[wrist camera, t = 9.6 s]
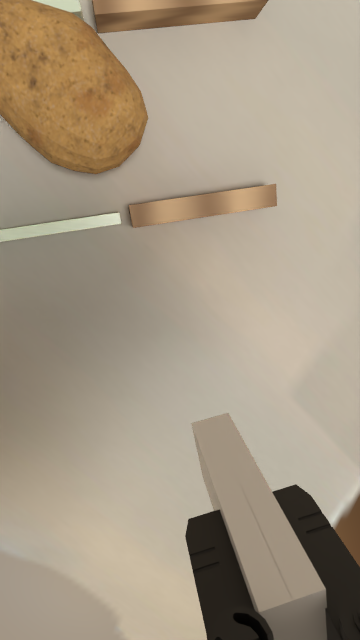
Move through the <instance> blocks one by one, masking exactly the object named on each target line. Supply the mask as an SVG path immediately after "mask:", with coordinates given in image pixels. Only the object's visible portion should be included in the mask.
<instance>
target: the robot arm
mask: <svg viewBox="0 0 360 640" xmlns="http://www.w3.org/2000/svg"><path fill="white" fill-rule="evenodd" d="M191 424H192V428H193V433H194V438H195V442H196V447H197V452H198V456H199V461H200V465H201V470H202V475H203V478H204V482H205V485H206V488H207V491H208V494H209V497H210V500H211V503H212V506H213V509H214V511H213V512H210V513H207V514H203V515H200V516H197V517H194V518H191V519H189V520H188V525H187V531H186V536H185V537H186V542H187V546H188V551H189V555H190V560H191V565H192V569H193V574H194V578H195V583H196V588H197V592H198V597H199V601H200V606H201V610H202V615H203V620H204V624H205V629H206V633H207V640H360V567H359V566H358V564H357V563H356V561H355V560H354V558H353V557H352V556H351V554H350V552H349V551H348V549H347V548H346V546H345V545H344V544H343V542H342V541H341V539H340V538H339V536H338V535H337V533H336V532H335V530H334V529H333V527H331V525H330V523H329V522H328V520H327V519H326V517H325V516H324V514H322V512H321V510H320V508H319V507H318V505H317V504H316V502H315V501H314V499H313V498H312V497H311V495H309V494H308V493H307V492H305V491H304V490H303V489H301V488H300V487H299V486H297V485H293V486H289V487H286V488H283V489H280V490H277V491H273V492H272V491H271V489H270V487H269V486H268V484H267V482H266V480H265V478H264V477H263V475H262V473H261V471H260V469H259V467H258V466H257V464H256V462H255V460H254V458H253V457H252V455H251V453H250V451H249V449H248V448H247V446H246V444H245V442H244V440H243V439H242V437H241V435H240V433H239V431H238V430H237V428H236V426H235V424H234V422H233V421H232V419H231V417H230V415H229V413H226V414H223V415H219V416H215V417H212V418H208V419H205V420H201V421H198V422H194V423H191Z"/></svg>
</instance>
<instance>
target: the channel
mask: <svg viewBox="0 0 360 640" xmlns="http://www.w3.org/2000/svg"><path fill="white" fill-rule="evenodd" d="M267 1H268V0H92V3H93V8H94V14H95V20H96V25H97V31H98V33H105V32H115V31H126V30H137V29H148V28H159V27H170V26H180V25H191V24H202V23H213V22H224V21H235V20H246V19H255V18H256V17H257V16H258V14H259V13H260V11H261V10H262V8H263V7H264V6H265V4H266V3H267ZM273 206H277V197H276V184H272V185H265V186H258V187H251V188H244V189H237V190H230V191H223V192H216V193H210V194H203V195H196V196H189V197H182V198H175V199H168V200H161V201H155V202H148V203H141V204H134V205H129V211H130V216H131V222H132V227H133V228H136V227H142V226H149V225H155V224H162V223H168V222H175V221H181V220H188V219H194V218H201V217H208V216H214V215H221V214H227V213H234V212H240V211H247V210H253V209H260V208H266V207H273Z"/></svg>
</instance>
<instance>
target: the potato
mask: <svg viewBox="0 0 360 640" xmlns="http://www.w3.org/2000/svg"><path fill="white" fill-rule="evenodd" d="M0 114H1V115H2V117H3V118H4V119H5V120H6V121H7V122H8V123H9V124H10V125H11V126H12V127H13V129H14V130H15V131H16V132H17V133H18V134H19V135H20V136H21V137H23V138H24V139H25V140H26V141H27V142H28V143H29V144H30V145H31V146H32V147H33V148H35V149H36V150H37V151H38V152H39V153H41V154H42V155H43V156H44V157H45V158H47V159H48V160H49V161H50V162H51V163H54V164H57V165H60V166H63V167H65V168H68V169H71V170H74V171H81V172H87V173H94V174H98V173H101V172H104V171H107V170H110V169H113V168H116V167H119V166H120V165H121V164H122V163H123V162H124V161H125V160H126V159H127V158H128V157H129V156H130V155H131V154H132V153H133V152H134V151H135V150H136V149H137V148H138V146H139V145H140V142H141V139H142V136H143V132H144V129H145V126H146V123H147V120H148V115H147V112H146V108H145V105H144V101H143V97H142V94H141V91H140V90H139V88H138V87H137V85H136V83H135V82H134V80H133V79H132V77H131V76H130V74H129V73H128V71H127V70H126V69H125V67H124V66H123V65H122V64H121V63H120V61H119V60H118V59H117V58H116V57H115V56H114V54H113V53H112V52H111V51H110V50H109V48H108V47H107V46H106V45H105V43H104V42H103V41H102V39H101V38H100V37H99V36H98V34H97V33H96V32H95V30H94V29H93V28H92V27H91V26H89V25H88V24H87V23H85V22H84V21H83V20H81V19H80V18H79V17H77V16H76V15H75V14H73V13H71V12H68V11H65V10H62V9H59V8H55V7H52V6H49V5H46V4H42V3H39V2H36V1H33V0H0Z"/></svg>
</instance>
